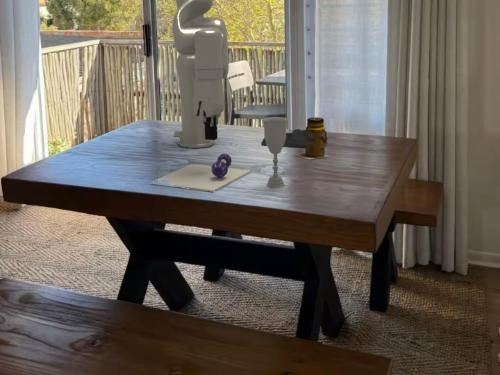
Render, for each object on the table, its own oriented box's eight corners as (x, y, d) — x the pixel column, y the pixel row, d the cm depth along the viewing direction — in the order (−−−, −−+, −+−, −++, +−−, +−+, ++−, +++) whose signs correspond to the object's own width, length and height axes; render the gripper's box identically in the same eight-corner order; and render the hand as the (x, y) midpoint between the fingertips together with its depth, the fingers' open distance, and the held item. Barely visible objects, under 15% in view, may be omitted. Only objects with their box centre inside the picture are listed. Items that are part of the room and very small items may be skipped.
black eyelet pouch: (270, 138, 243) (270, 125, 242) (330, 141, 236) (330, 127, 235) (257, 147, 229) (257, 133, 228) (321, 150, 223) (321, 136, 221)
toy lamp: (233, 154, 200) (226, 163, 184) (232, 169, 201) (225, 180, 185) (217, 153, 201) (209, 162, 185) (217, 168, 202) (208, 179, 186)
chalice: (261, 181, 186) (260, 117, 181) (286, 180, 186) (286, 116, 181) (264, 189, 179) (263, 122, 174) (289, 188, 180) (289, 121, 174)
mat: (150, 184, 185) (150, 182, 185) (192, 165, 204) (191, 163, 204) (213, 192, 177) (213, 190, 177) (250, 172, 196) (250, 170, 195)
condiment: (330, 156, 213) (330, 118, 210) (309, 160, 209) (309, 122, 205) (315, 152, 219) (316, 115, 216) (295, 155, 215) (295, 118, 211)
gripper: (210, 71, 196) (212, 133, 201) (183, 77, 183) (186, 143, 188) (233, 72, 192) (235, 135, 198) (207, 78, 180) (209, 145, 185)
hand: (211, 139), depth 193 cm, fingers closed
